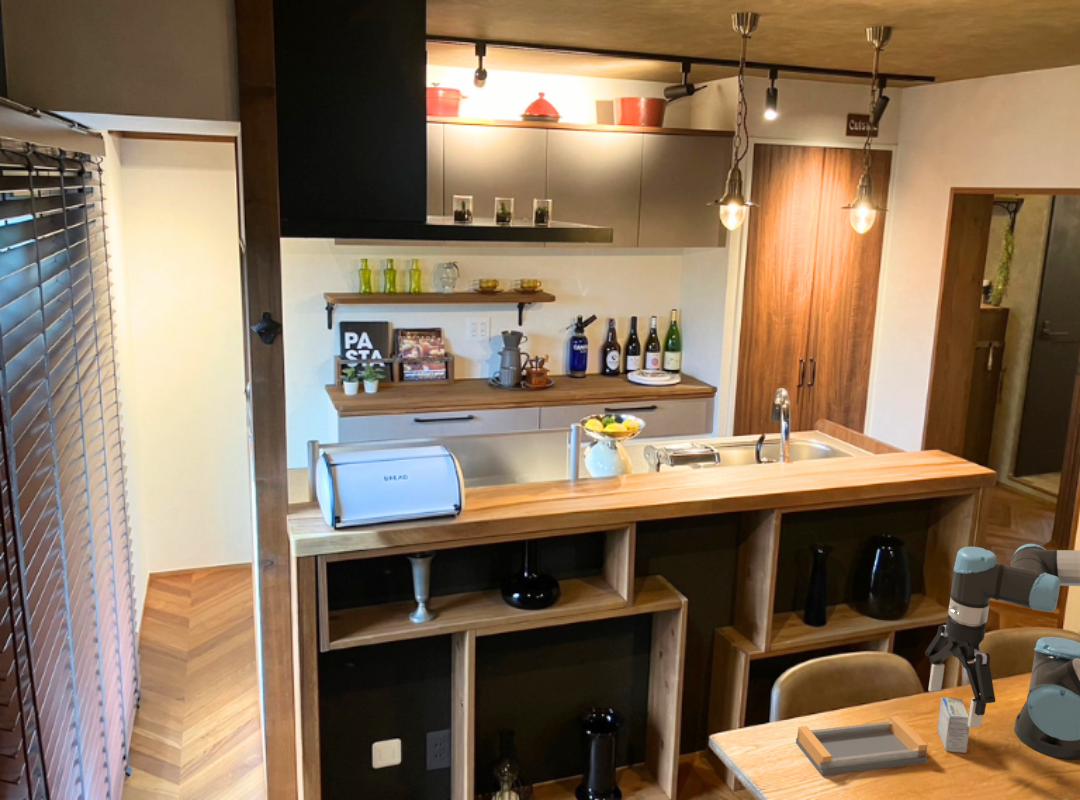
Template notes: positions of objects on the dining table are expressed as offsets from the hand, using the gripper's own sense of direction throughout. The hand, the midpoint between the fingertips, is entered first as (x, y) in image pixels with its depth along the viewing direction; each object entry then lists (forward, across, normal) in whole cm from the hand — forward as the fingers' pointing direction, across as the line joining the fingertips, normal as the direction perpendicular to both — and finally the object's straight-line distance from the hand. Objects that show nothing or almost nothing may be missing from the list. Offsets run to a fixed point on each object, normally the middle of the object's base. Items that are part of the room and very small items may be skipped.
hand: (953, 707), depth 194 cm
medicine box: (+8, 0, 0) cm, 9 cm away
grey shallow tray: (+8, 0, -22) cm, 23 cm away
